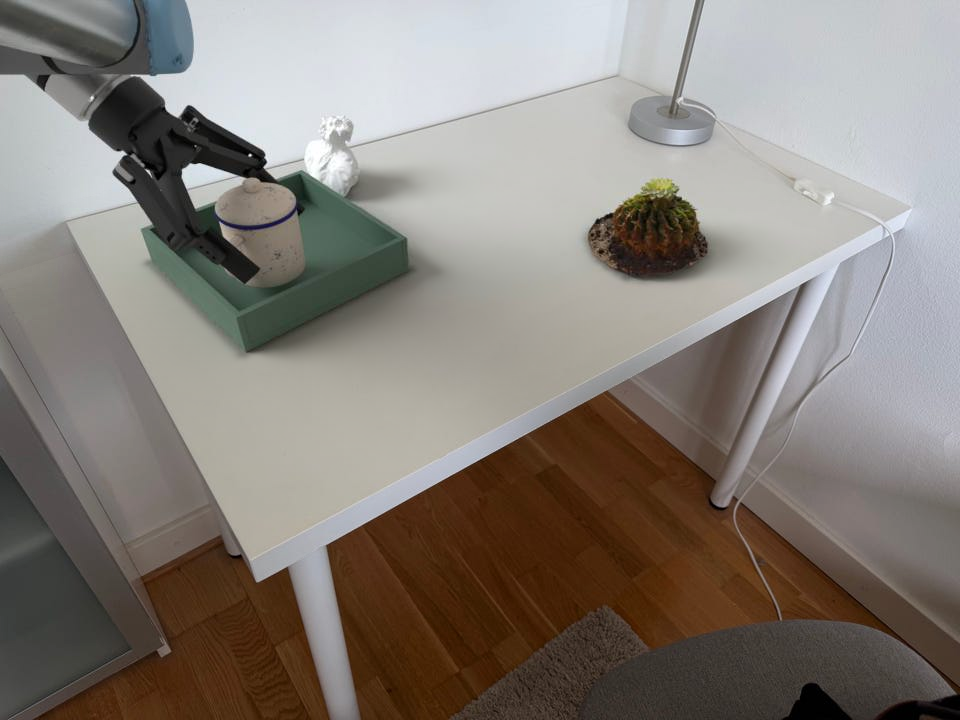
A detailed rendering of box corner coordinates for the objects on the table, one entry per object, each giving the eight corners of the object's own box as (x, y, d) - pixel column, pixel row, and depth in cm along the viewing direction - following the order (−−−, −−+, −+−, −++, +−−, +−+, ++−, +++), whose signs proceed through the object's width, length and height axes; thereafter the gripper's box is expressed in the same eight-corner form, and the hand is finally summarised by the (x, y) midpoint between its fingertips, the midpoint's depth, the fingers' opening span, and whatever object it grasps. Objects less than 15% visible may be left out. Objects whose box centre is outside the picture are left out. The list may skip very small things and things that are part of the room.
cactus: (635, 202, 104) (648, 140, 97) (729, 245, 96) (750, 181, 89) (561, 245, 94) (570, 180, 88) (658, 297, 86) (676, 230, 80)
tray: (245, 352, 77) (236, 318, 74) (152, 261, 89) (140, 228, 86) (408, 270, 89) (407, 237, 86) (306, 200, 101) (301, 169, 98)
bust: (361, 212, 104) (394, 143, 101) (322, 197, 97) (357, 123, 95) (318, 182, 110) (348, 116, 107) (279, 166, 104) (311, 96, 101)
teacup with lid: (256, 241, 87) (236, 156, 80) (321, 255, 86) (307, 169, 78) (201, 296, 79) (173, 207, 71) (272, 312, 77) (252, 222, 69)
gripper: (156, 79, 81) (298, 208, 90) (17, 175, 64) (210, 325, 72) (186, 36, 77) (332, 176, 85) (46, 126, 59) (247, 292, 68)
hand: (276, 245), depth 79 cm, fingers closed on teacup with lid, 12 cm apart
